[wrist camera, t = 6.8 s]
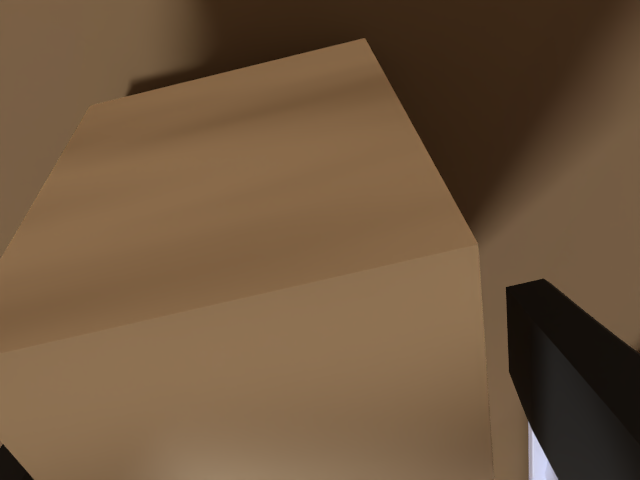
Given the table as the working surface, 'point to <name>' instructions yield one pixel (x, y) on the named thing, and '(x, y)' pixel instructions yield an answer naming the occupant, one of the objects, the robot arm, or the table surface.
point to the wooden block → (247, 290)
